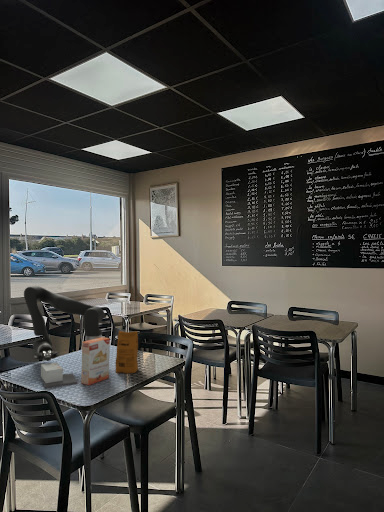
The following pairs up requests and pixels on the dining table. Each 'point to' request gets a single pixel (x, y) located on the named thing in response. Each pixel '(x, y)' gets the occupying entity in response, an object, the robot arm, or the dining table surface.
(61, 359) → the dining table surface
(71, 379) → the mat
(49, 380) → the small box
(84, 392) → the dining table surface
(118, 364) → the coffee package
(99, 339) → the cracker box
